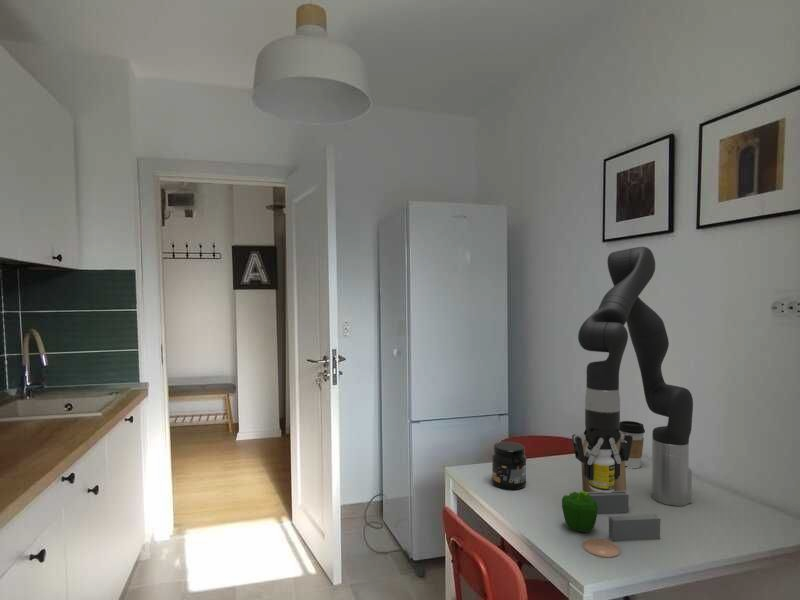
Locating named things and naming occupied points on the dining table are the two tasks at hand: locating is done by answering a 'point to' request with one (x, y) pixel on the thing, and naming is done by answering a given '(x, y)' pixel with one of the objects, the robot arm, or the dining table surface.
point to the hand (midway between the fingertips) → (601, 478)
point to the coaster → (601, 547)
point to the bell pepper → (579, 511)
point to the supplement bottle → (603, 472)
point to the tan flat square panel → (618, 483)
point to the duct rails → (626, 518)
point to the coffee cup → (634, 441)
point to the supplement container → (509, 465)
